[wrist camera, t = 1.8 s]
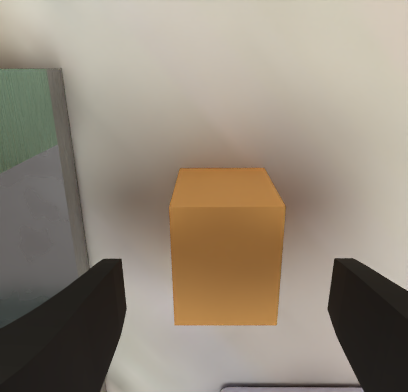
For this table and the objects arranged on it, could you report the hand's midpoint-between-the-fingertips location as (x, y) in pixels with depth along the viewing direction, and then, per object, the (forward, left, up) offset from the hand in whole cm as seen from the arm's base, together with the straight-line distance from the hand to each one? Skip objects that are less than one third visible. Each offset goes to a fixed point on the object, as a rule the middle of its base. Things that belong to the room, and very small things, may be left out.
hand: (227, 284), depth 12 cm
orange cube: (0, 0, -6) cm, 6 cm away
